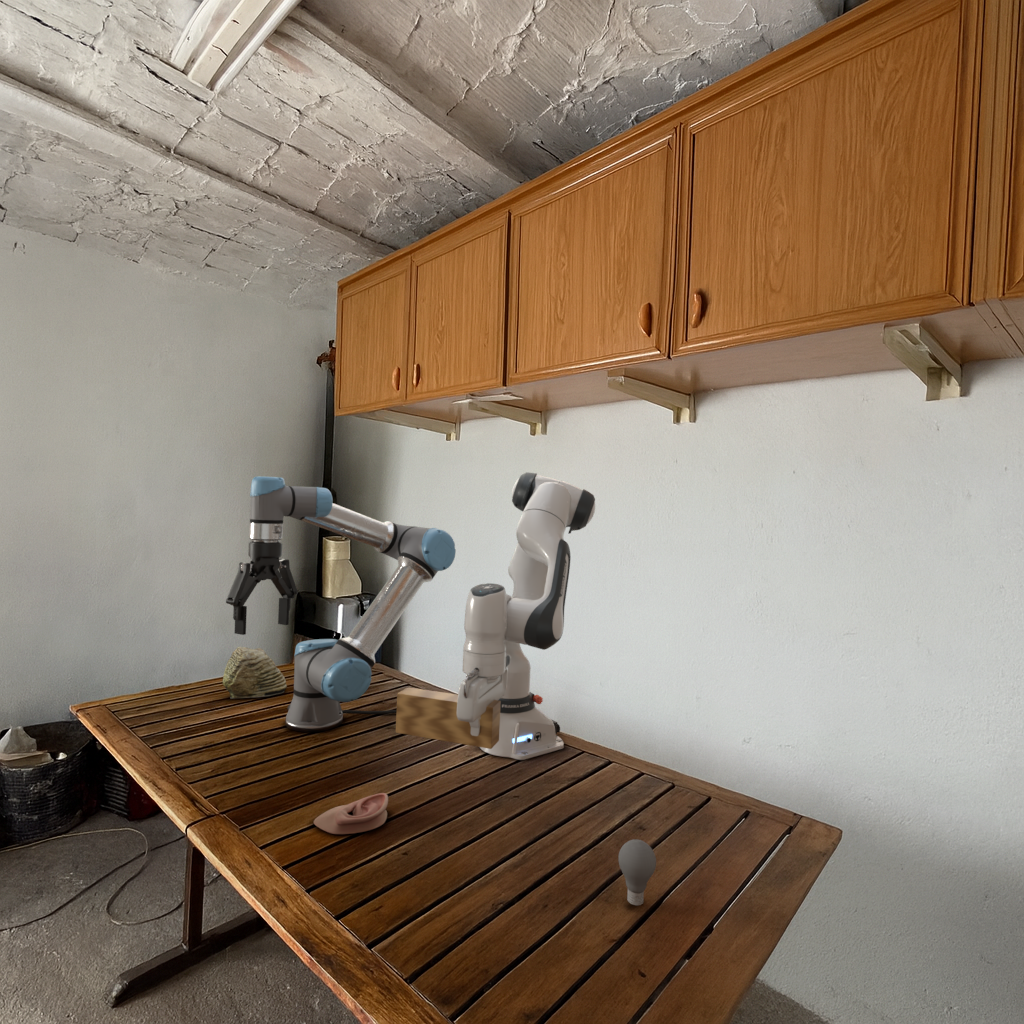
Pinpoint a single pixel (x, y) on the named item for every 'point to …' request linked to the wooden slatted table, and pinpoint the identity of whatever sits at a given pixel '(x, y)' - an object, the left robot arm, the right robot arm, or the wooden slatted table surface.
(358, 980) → the wooden slatted table surface
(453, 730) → the bar
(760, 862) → the wooden slatted table surface
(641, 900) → the light bulb
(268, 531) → the left robot arm
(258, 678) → the fossil
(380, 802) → the anatomical model
